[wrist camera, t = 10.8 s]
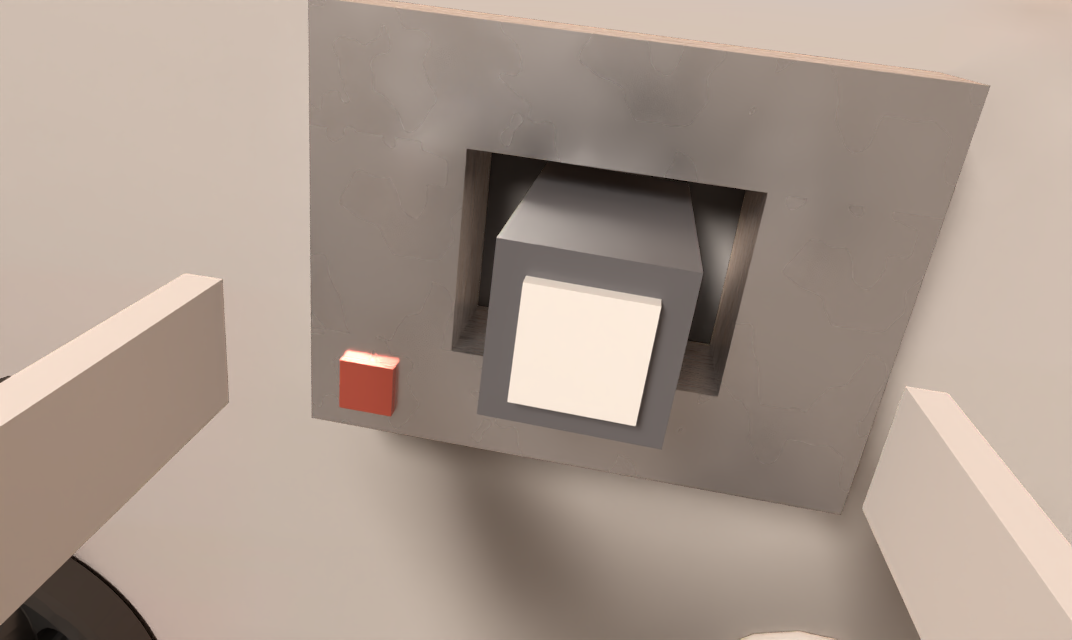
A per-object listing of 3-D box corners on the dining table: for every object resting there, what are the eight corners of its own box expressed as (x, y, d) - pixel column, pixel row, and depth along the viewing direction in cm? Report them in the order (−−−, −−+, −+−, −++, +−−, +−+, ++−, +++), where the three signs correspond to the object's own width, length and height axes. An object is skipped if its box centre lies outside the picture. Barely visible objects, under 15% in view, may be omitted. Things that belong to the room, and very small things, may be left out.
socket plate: (817, 448, 25) (843, 521, 21) (353, 367, 26) (307, 422, 23) (937, 71, 20) (995, 87, 17) (360, -4, 21) (303, -4, 18)
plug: (660, 312, 24) (661, 459, 16) (531, 289, 24) (473, 423, 17) (688, 183, 22) (704, 280, 15) (548, 160, 23) (492, 243, 15)
